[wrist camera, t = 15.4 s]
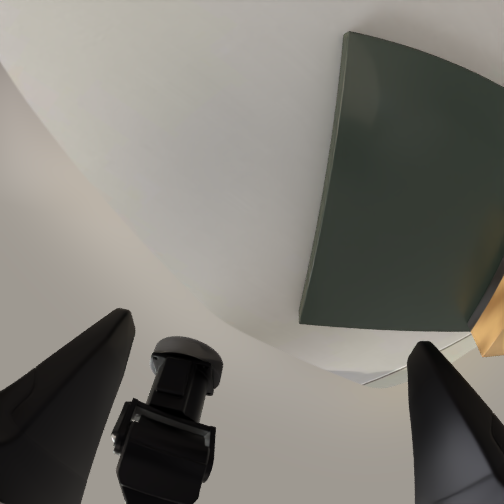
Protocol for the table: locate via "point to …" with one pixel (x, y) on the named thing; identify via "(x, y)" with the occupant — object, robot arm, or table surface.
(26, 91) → the table surface
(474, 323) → the tan rectangular block
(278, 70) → the table surface
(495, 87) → the chalkboard
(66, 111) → the table surface
